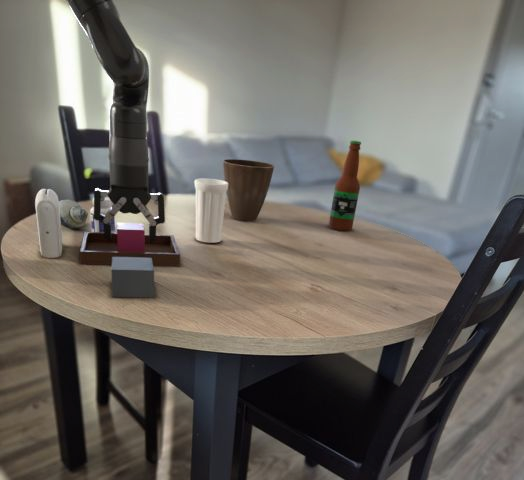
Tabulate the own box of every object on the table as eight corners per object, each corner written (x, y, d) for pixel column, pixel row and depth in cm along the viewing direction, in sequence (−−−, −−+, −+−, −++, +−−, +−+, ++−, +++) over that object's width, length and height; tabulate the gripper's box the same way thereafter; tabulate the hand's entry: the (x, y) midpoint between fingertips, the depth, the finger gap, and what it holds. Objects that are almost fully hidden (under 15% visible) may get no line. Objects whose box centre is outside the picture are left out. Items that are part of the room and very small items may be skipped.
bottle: (324, 228, 147) (339, 139, 135) (332, 224, 153) (347, 139, 141) (347, 233, 144) (364, 143, 133) (354, 228, 150) (371, 142, 139)
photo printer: (62, 258, 98) (57, 195, 92) (39, 258, 96) (32, 194, 90) (63, 243, 106) (58, 185, 100) (41, 243, 104) (35, 184, 99)
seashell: (79, 226, 125) (83, 239, 115) (49, 214, 121) (51, 225, 111) (88, 204, 123) (93, 214, 114) (58, 190, 119) (61, 200, 110)
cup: (190, 235, 123) (193, 177, 117) (222, 237, 125) (226, 179, 118) (193, 244, 116) (196, 183, 110) (226, 246, 118) (231, 185, 111)
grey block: (112, 297, 83) (111, 269, 81) (112, 282, 89) (112, 256, 86) (153, 297, 85) (154, 270, 82) (151, 283, 91) (151, 257, 88)
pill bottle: (119, 236, 116) (118, 198, 112) (108, 241, 111) (106, 202, 107) (99, 232, 117) (97, 194, 112) (87, 237, 112) (85, 198, 108)
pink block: (117, 255, 101) (117, 229, 99) (117, 247, 106) (117, 222, 103) (144, 255, 103) (144, 230, 100) (143, 248, 107) (143, 223, 105)
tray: (80, 264, 96) (79, 251, 94) (85, 243, 108) (84, 231, 107) (179, 266, 101) (180, 254, 100) (173, 246, 113) (173, 235, 112)
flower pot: (209, 214, 147) (212, 158, 139) (247, 211, 156) (252, 159, 149) (239, 226, 137) (244, 167, 130) (278, 222, 146) (284, 167, 139)
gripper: (163, 161, 101) (162, 237, 108) (92, 155, 97) (96, 235, 104) (166, 167, 94) (165, 247, 102) (90, 160, 91) (94, 245, 98)
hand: (130, 241), depth 103 cm, fingers open, 8 cm apart
